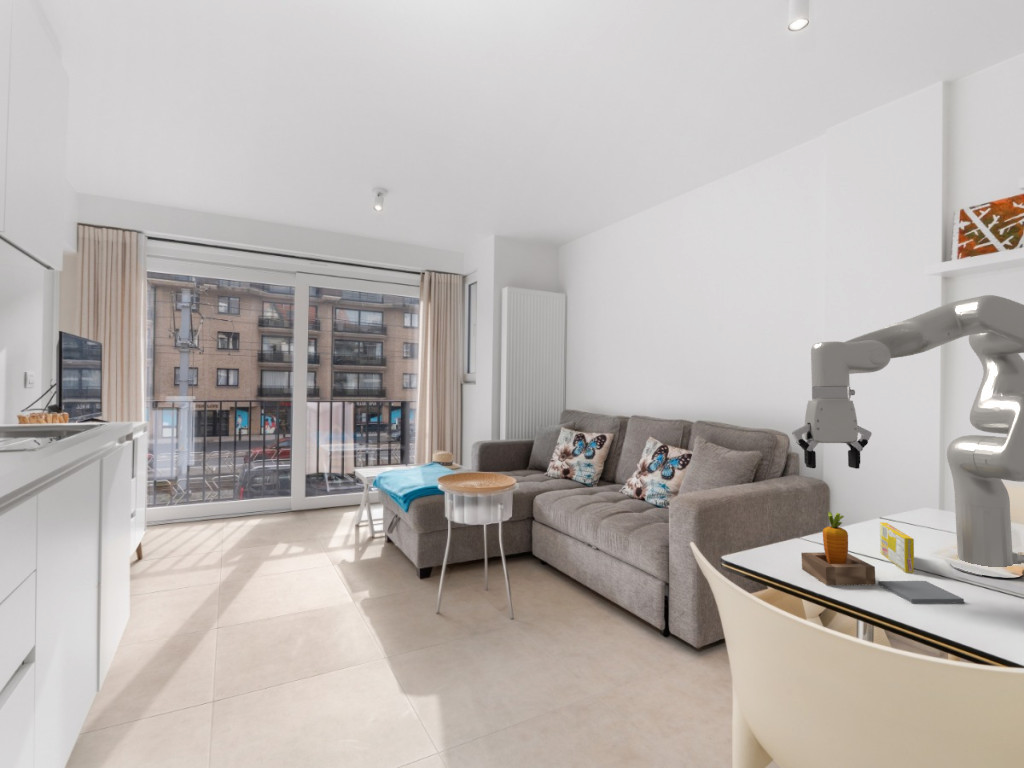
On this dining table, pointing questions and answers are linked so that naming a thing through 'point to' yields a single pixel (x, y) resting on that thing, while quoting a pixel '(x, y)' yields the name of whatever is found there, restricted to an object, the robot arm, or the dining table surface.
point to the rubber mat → (920, 592)
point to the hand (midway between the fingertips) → (832, 467)
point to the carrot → (835, 541)
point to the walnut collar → (838, 570)
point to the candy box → (897, 547)
